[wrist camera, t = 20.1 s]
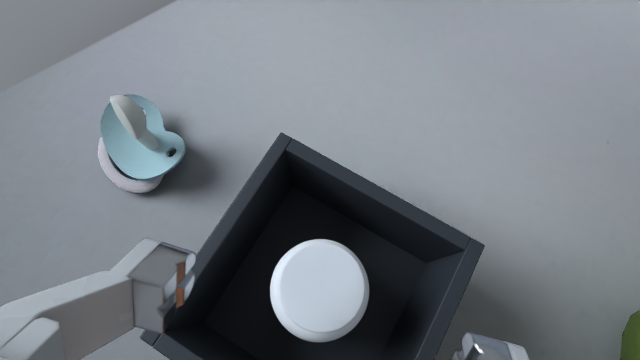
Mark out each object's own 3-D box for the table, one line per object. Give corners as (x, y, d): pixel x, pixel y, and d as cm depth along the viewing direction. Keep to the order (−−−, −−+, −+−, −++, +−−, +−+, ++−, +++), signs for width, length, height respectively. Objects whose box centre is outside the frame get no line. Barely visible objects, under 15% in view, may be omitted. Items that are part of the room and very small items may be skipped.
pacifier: (137, 212, 27) (202, 162, 29) (85, 190, 21) (170, 128, 23) (86, 144, 29) (150, 99, 30) (25, 105, 23) (107, 51, 24)
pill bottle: (296, 347, 24) (288, 372, 15) (267, 271, 25) (244, 257, 17) (369, 311, 25) (399, 318, 16) (337, 240, 26) (348, 211, 18)
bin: (190, 326, 25) (138, 338, 18) (289, 175, 28) (281, 131, 21) (353, 436, 23) (371, 500, 16) (437, 260, 27) (485, 245, 19)
